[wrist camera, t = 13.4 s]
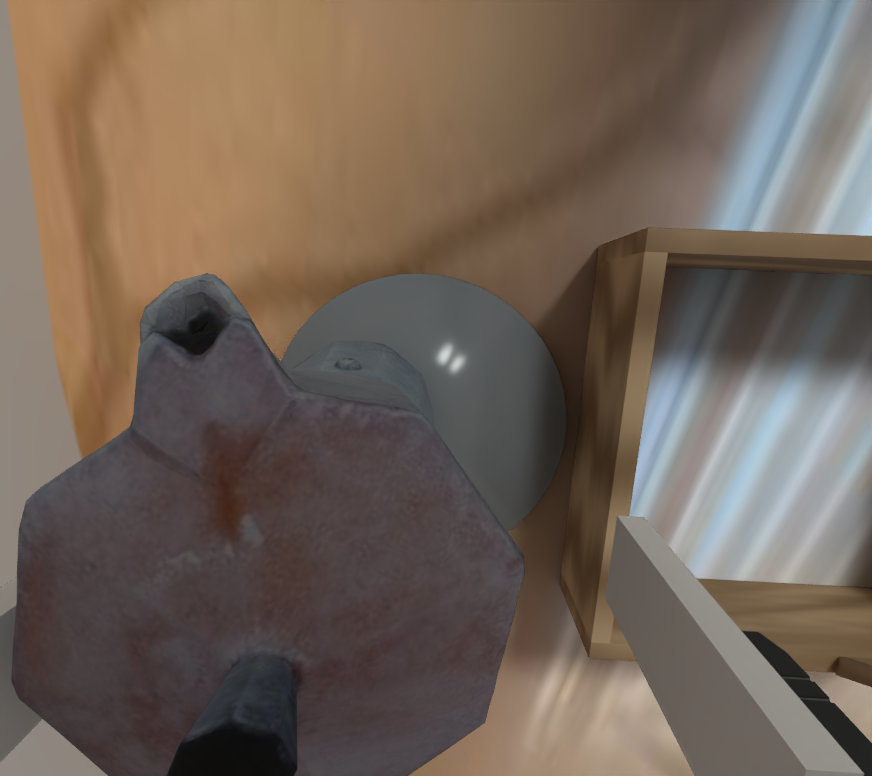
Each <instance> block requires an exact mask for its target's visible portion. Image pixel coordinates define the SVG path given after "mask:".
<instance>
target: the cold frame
mask: <svg viewBox="0 0 872 776" xmlns="http://www.w3.org/2000/svg"><path fill="white" fill-rule="evenodd" d="M666 267H684V268H708V269H733V270H758V271H783V272H808V273H832V274H857V275H872V236H856V235H830V234H804V233H778V232H752V231H726V230H700V229H675V228H649V227H648V228H646V229H643V230H640V231H637V232H635V233H632V234H629V235H627V236H624V237H621V238H619V239H616V240H613V241H611V242H608V243H605V244H603V245H600V246H599V249H598V257H597V266H596V275H595V283H594V292H593V300H592V309H591V318H590V326H589V335H588V344H587V352H586V361H585V370H584V378H583V387H582V396H581V404H580V413H579V422H578V430H577V439H576V447H575V456H574V465H573V473H572V482H571V491H570V499H569V508H568V517H567V525H566V534H565V543H564V551H563V560H562V569H561V577H560V586H561V589H562V591H563V594H564V596H565V599H566V601H567V604H568V607H569V609H570V612H571V614H572V617H573V619H574V622H575V624H576V627H577V629H578V632H579V634H580V637H581V639H582V642H583V644H584V647H585V649H586V652H587V654H588V657H589V658H594V659H611V660H628V661H637V660H636V658H635V656H634V654H633V652H632V650H631V648H630V646H629V644H628V642H627V640H626V638H625V636H624V634H623V632H622V630H621V628H620V626H619V624H618V622H617V620H616V618H615V617H614V615H613V613H612V611H611V609H610V607H609V605H608V603H607V601H606V599H605V593H606V586H607V580H608V573H609V567H610V560H611V553H612V547H613V540H614V534H615V527H616V520H617V516H629V512H630V505H631V499H632V492H633V485H634V478H635V472H636V465H637V458H638V451H639V445H640V438H641V431H642V425H643V418H644V411H645V404H646V398H647V391H648V384H649V377H650V371H651V364H652V357H653V350H654V344H655V337H656V330H657V323H658V317H659V310H660V303H661V297H662V290H663V283H664V276H665V270H666ZM697 580H698V581H699V582H700V583H701V584H702V586H703V587H704V588H705V589H706V590H707V591H708V593H709V594H710V595H711V596H712V597H713V598H714V600H715V601H716V602H717V603H718V604H719V605H720V607H721V608H722V609H723V610H724V611H725V612H726V614H727V615H728V616H729V617H730V618H731V619H732V620H733V622H734V623H735V624H736V625H737V626H738V627H739V629H740V630H741V631H754V632H759V633H761V634H762V635H763V636H765V637H766V638H768V639H769V640H770V641H772V642H773V643H774V644H776V645H777V646H779V647H780V648H781V649H783V650H784V651H785V652H787V653H788V654H789V655H790V656H791V657H792V659H793V660H794V661H795V662H796V663H797V664H798V665H799V666H800V667H801V668H802V669H803V670H804V671H818V672H835V674H836V675H838V676H841V677H844V678H846V679H849V680H852V681H855V682H858V683H861V684H864V685H867V686H870V687H872V588H861V587H843V586H824V585H806V584H787V583H769V582H750V581H732V580H713V579H697Z"/></svg>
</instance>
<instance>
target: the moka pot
mask: <svg viewBox="0 0 872 776" xmlns="http://www.w3.org/2000/svg"><path fill="white" fill-rule="evenodd" d="M140 339H141V345H140V347H139V354H138V366H137V377H136V389H135V402H134V415H133V419H132V422H131V426H130V427H129V428H127V429H126V430H125V431H123V432H122V433H121V434H119V435H118V436H117V437H115V438H114V439H112V440H111V441H110V442H108V443H107V444H105V445H104V446H102V447H101V448H99V449H98V450H96V451H95V452H93V453H92V454H90V455H89V456H87V457H85V458H84V459H82V460H81V461H79V462H78V463H76V464H75V465H73V466H72V467H70V468H69V469H67V470H66V471H64V472H63V473H61V474H60V475H58V476H57V477H55V478H54V479H53V480H51V481H50V482H48V483H47V484H45V485H44V486H42V487H41V488H40V489H39V490H38V491H36V492H35V494H33V495H32V496H31V497H30V498H29V499H28V500H27V501H26V503H25V508H24V512H23V516H22V519H21V523H20V528H19V539H18V561H17V603H16V615H15V627H14V639H13V656H12V676H11V682H12V684H13V687H14V689H15V692H16V694H17V696H18V698H19V699H20V700H21V701H22V702H23V703H24V704H26V705H27V706H28V707H29V708H30V709H32V710H33V711H34V712H35V713H36V714H37V715H39V716H40V717H41V718H42V719H44V720H45V721H46V722H47V723H48V724H49V725H51V726H52V727H53V728H54V729H55V730H57V731H58V732H59V733H60V734H61V735H62V736H64V737H65V738H66V739H67V740H68V741H69V742H71V743H72V744H73V745H74V746H75V747H76V748H77V749H78V750H80V751H81V752H82V753H83V754H84V755H85V756H87V757H88V758H89V759H90V760H91V761H92V762H93V763H94V764H95V765H97V766H98V767H99V768H100V769H101V770H102V771H104V772H105V773H106V774H107V775H108V776H408V775H409V774H411V773H412V772H414V771H415V770H417V769H418V768H420V767H421V766H423V765H424V764H426V763H427V762H429V761H430V760H432V759H433V758H435V757H436V756H438V755H439V754H441V753H442V752H444V751H445V750H447V749H448V748H449V747H451V746H452V745H454V744H455V743H457V742H458V741H459V740H461V739H462V738H464V737H465V736H467V735H468V734H469V733H471V732H472V731H474V730H475V729H477V728H478V727H479V726H481V725H482V724H484V723H485V721H486V717H487V713H488V709H489V705H490V701H491V698H492V695H493V692H494V688H495V684H496V679H497V675H498V671H499V668H500V664H501V661H502V657H503V654H504V650H505V647H506V643H507V639H508V636H509V632H510V628H511V625H512V621H513V617H514V612H515V608H516V603H517V598H518V594H519V590H520V587H521V583H522V580H523V577H524V555H523V553H522V552H521V551H520V549H519V548H518V546H517V545H516V544H515V542H514V541H513V539H512V538H511V537H510V535H509V534H508V532H507V531H506V529H505V528H504V527H503V525H502V524H501V522H500V521H499V520H498V518H497V517H496V515H495V514H494V513H493V511H492V510H491V508H490V507H489V505H488V504H487V503H486V501H485V500H484V498H483V497H482V495H481V494H480V493H479V491H478V490H477V488H476V487H475V485H474V484H473V482H472V481H471V480H470V478H469V477H468V475H467V474H466V472H465V471H464V469H463V468H462V467H461V465H460V464H459V462H458V461H457V459H456V458H455V457H454V455H453V454H452V452H451V451H450V449H449V448H448V447H447V445H446V444H445V442H444V441H443V439H442V438H441V437H440V435H439V434H438V432H437V431H436V429H435V428H434V417H433V411H432V406H431V403H430V399H429V396H428V392H427V389H426V385H425V381H424V378H423V376H422V374H421V373H420V372H419V371H417V370H416V369H415V368H414V367H413V366H412V365H411V364H410V363H409V362H408V361H407V360H405V359H404V358H403V357H402V356H401V355H399V354H398V353H397V352H396V351H394V350H393V349H391V348H390V347H388V346H386V345H385V344H380V343H373V342H363V341H335V342H331V343H330V344H328V345H326V346H325V347H323V348H321V349H319V350H318V351H316V352H315V353H313V354H312V355H310V356H309V357H307V358H306V359H305V360H303V361H302V362H300V363H299V364H298V365H296V366H295V367H293V368H292V369H289V368H287V367H286V366H285V365H284V364H283V363H282V362H281V361H280V360H279V359H278V358H277V357H276V356H275V355H274V354H273V353H272V352H271V351H270V349H269V347H268V346H267V344H266V343H265V341H264V340H263V338H262V336H261V335H260V333H259V331H258V330H257V328H256V326H255V325H254V323H253V321H252V320H251V318H250V316H249V315H248V313H247V311H246V310H245V308H244V307H243V305H242V304H241V303H240V301H239V300H238V299H237V297H236V296H235V295H234V293H233V292H232V291H231V289H230V288H229V287H228V286H227V285H226V284H225V283H224V282H223V281H222V280H221V279H219V278H218V277H217V276H215V275H213V274H208V273H206V274H203V275H199V276H196V277H192V278H188V279H185V280H181V281H177V282H174V283H173V284H172V285H171V286H169V287H168V288H167V289H166V290H165V291H164V292H163V293H161V294H160V295H159V296H158V297H157V298H156V299H154V300H153V301H152V302H151V303H150V304H149V305H147V306H146V307H145V310H144V313H143V316H142V318H141V321H140Z"/></svg>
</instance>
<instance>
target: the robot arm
mask: <svg viewBox="0 0 872 776" xmlns="http://www.w3.org/2000/svg"><path fill="white" fill-rule="evenodd" d="M605 599H606V601H607V603H608V605H609V607H610V609H611V611H612V613H613V615H614V617H615V618H616V620H617V622H618V624H619V626H620V628H621V630H622V632H623V634H624V636H625V638H626V640H627V642H628V644H629V646H630V648H631V650H632V652H633V654H634V656H635V658H636V660H637V662H638V664H639V666H640V668H641V670H642V672H643V674H644V676H645V678H646V680H647V682H648V684H649V686H650V688H651V690H652V692H653V694H654V696H655V698H656V700H657V702H658V704H659V706H660V708H661V710H662V712H663V714H664V716H665V718H666V720H667V722H668V724H669V726H670V728H671V730H672V732H673V734H674V736H675V738H676V740H677V742H678V744H679V746H680V748H681V750H682V751H683V753H684V755H685V757H686V759H687V761H688V763H689V765H690V767H691V769H692V771H693V773H694V775H695V776H872V743H871V742H870V741H869V740H868V739H867V738H866V737H865V736H864V734H863V733H862V732H861V731H860V730H859V729H858V728H857V727H856V726H855V725H854V724H853V723H852V722H851V721H850V720H849V718H848V717H847V716H846V715H845V714H844V713H843V712H842V711H841V710H840V709H839V708H838V707H837V706H836V705H835V703H831V702H830V700H829V697H828V696H827V695H826V694H825V693H824V692H823V691H822V690H821V688H820V687H819V686H818V685H817V684H816V683H815V682H811V680H810V677H809V676H808V675H807V673H806V672H805V671H804V670H803V669H802V668H801V667H800V666H799V665H798V664H797V663H796V662H795V661H794V660H793V659H792V657H791V656H790V655H789V654H788V653H787V652H785V651H784V650H783V649H781V648H780V647H779V646H777V645H776V644H774V643H773V642H772V641H770V640H769V639H768V638H766V637H765V636H763V635H762V634H761V633H759V632H754V631H741V630H740V629H739V627H738V626H737V625H736V624H735V623H734V622H733V620H732V619H731V618H730V617H729V616H728V615H727V614H726V612H725V611H724V610H723V609H722V608H721V607H720V605H719V604H718V603H717V602H716V601H715V600H714V598H713V597H712V596H711V595H710V594H709V593H708V591H707V590H706V589H705V588H704V587H703V586H702V584H701V583H700V582H699V581H698V580H697V579H696V577H695V576H694V575H693V574H692V573H691V572H690V570H689V569H688V568H687V567H686V566H685V565H684V563H683V562H682V561H681V560H680V559H679V558H678V556H677V555H676V554H675V553H674V552H673V551H672V550H671V548H670V547H669V546H668V545H667V544H666V543H665V541H664V540H663V539H662V538H661V537H660V536H659V534H658V533H657V532H656V531H655V530H654V529H653V527H652V526H651V525H650V524H649V523H648V522H647V520H646V519H645V518H644V517H630V516H617V520H616V527H615V534H614V540H613V547H612V553H611V560H610V567H609V573H608V580H607V586H606V593H605ZM16 603H17V577H16V578H14V579H13V580H11V581H10V582H8V583H6V584H5V585H3V586H2V587H0V762H1V761H2V760H3V759H4V758H5V757H6V756H7V755H8V754H9V753H10V752H11V751H12V750H13V749H14V748H15V747H16V746H17V745H18V744H19V742H21V741H22V739H23V738H24V737H25V736H26V735H27V734H28V733H29V732H30V731H31V730H32V729H33V728H34V727H35V726H36V725H37V724H38V723H39V722H40V721H41V720H42V718H41V717H40V716H39V715H37V714H36V713H35V712H34V711H33V710H32V709H30V708H29V707H28V706H27V705H26V704H24V703H23V702H22V701H21V700H20V699H19V698H18V696H17V694H16V692H15V689H14V687H13V684H12V682H11V676H12V656H13V639H14V627H15V615H16Z"/></svg>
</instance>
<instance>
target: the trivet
mask: <svg viewBox="0 0 872 776" xmlns="http://www.w3.org/2000/svg"><path fill="white" fill-rule="evenodd" d="M335 341H363V342H373V343H380V344H385V345H386V346H388V347H390V348H391V349H393V350H394V351H396V352H397V353H398V354H399V355H401V356H402V357H403V358H404V359H405V360H407V361H408V362H409V363H410V364H411V365H412V366H413V367H414V368H415V369H416V370H417V371H419V372H420V373H421V374H422V376H423V378H424V381H425V385H426V389H427V392H428V396H429V399H430V403H431V406H432V411H433V417H434V428H435V429H436V431H437V432H438V434H439V435H440V437H441V438H442V439H443V441H444V442H445V444H446V445H447V447H448V448H449V449H450V451H451V452H452V454H453V455H454V457H455V458H456V459H457V461H458V462H459V464H460V465H461V467H462V468H463V469H464V471H465V472H466V474H467V475H468V477H469V478H470V480H471V481H472V482H473V484H474V485H475V487H476V488H477V490H478V491H479V493H480V494H481V495H482V497H483V498H484V500H485V501H486V503H487V504H488V505H489V507H490V508H491V510H492V511H493V513H494V514H495V515H496V517H497V518H498V520H499V521H500V522H501V524H502V525H503V527H504V528H505V529H506V531H507V532H508V531H509V530H511V529H512V528H514V527H515V526H516V525H517V524H518V523H519V522H520V521H521V520H523V519H524V518H525V517H526V516H527V515H528V514H529V513H530V512H531V510H532V509H533V508H534V507H535V506H536V505H537V503H538V502H539V501H540V499H541V498H542V496H543V495H544V493H545V492H546V490H547V489H548V487H549V485H550V483H551V481H552V479H553V477H554V475H555V473H556V471H557V468H558V465H559V462H560V459H561V456H562V453H563V448H564V442H565V437H566V421H567V412H566V402H565V394H564V390H563V386H562V382H561V377H560V375H559V372H558V370H557V367H556V365H555V362H554V359H553V358H552V356H551V354H550V352H549V350H548V349H547V347H546V345H545V343H544V342H543V340H542V339H541V338H540V336H539V335H538V334H537V332H536V331H535V330H534V328H533V327H532V326H531V325H530V324H529V323H528V322H527V321H526V320H525V319H524V318H523V317H522V316H521V315H520V314H519V313H518V312H517V311H516V310H515V309H514V308H512V307H511V306H510V305H508V304H507V303H506V302H504V301H503V300H502V299H500V298H498V297H497V296H495V295H493V294H491V293H490V292H488V291H486V290H484V289H482V288H480V287H477V286H475V285H472V284H470V283H467V282H465V281H462V280H458V279H454V278H450V277H446V276H440V275H430V274H400V275H394V276H388V277H382V278H378V279H375V280H372V281H368V282H365V283H362V284H360V285H358V286H355V287H353V288H351V289H349V290H347V291H345V292H343V293H341V294H340V295H338V296H337V297H335V298H334V299H332V300H330V301H329V302H327V303H326V304H325V305H324V306H322V307H321V308H320V309H319V310H318V311H317V312H316V313H314V314H313V315H312V316H311V317H310V318H309V319H308V321H307V322H306V323H305V324H304V325H303V326H302V327H301V329H300V330H299V331H298V332H297V334H296V335H295V337H294V339H293V340H292V342H291V343H290V345H289V346H288V348H287V350H286V352H285V354H284V357H283V359H282V361H281V362H282V363H283V364H284V365H285V366H286V367H287V368H289V369H292V368H293V367H295V366H296V365H298V364H299V363H300V362H302V361H303V360H305V359H306V358H307V357H309V356H310V355H312V354H313V353H315V352H316V351H318V350H319V349H321V348H323V347H325V346H326V345H328V344H330V343H331V342H335Z"/></svg>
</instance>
